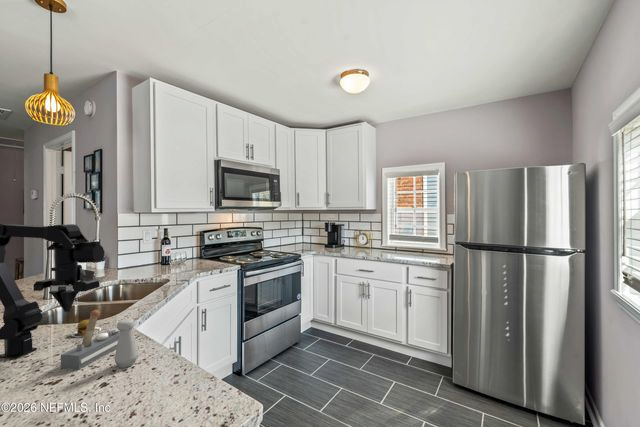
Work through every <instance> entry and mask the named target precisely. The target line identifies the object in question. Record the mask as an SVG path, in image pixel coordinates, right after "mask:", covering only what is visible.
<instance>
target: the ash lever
mask: <svg viewBox="0 0 640 427" xmlns="http://www.w3.org/2000/svg"><path fill="white" fill-rule="evenodd" d="M100 315H101V312H100V311H99V309H94V310H91V311H90V314H89V316H90V317H89V322H88V325H87V329H86V332H85V335H83V336H84V337H82V338H83V339H82V343H81V344H84V347H85V346H87V345H89V344H90V341H91V339H92V337H93V335H94V332H95V329H94V328H95V327H96V324H97V321H98V319H99V316H100ZM93 331H94V332H93Z"/></svg>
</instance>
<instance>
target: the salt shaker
mask: <svg viewBox="0 0 640 427" xmlns="http://www.w3.org/2000/svg"><path fill="white" fill-rule="evenodd" d="M134 327H135V320H133V318H126V319H122V320H119V321H118V322H117V324H116V328H117V329H118V330H119V331H120V333H119V338H118V343H117V348H116V349H115V353H114V357H113V358H114V359H113V360H114V363H115V364H116V366H117V368H120V369H125V368H129V367H132V366H134V364H136V361H137V358H138V355H139V353H138V348H137V344H136V343H137V342H136V339H135V334H134V330H133V328H134Z"/></svg>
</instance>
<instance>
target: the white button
mask: <svg viewBox="0 0 640 427" xmlns="http://www.w3.org/2000/svg"><path fill="white" fill-rule="evenodd" d="M95 338H96V340H104V339H107V338H108V333H107V332H99V333H97V334H95Z"/></svg>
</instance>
